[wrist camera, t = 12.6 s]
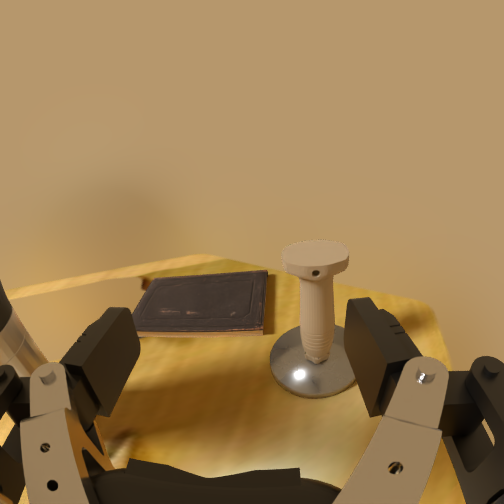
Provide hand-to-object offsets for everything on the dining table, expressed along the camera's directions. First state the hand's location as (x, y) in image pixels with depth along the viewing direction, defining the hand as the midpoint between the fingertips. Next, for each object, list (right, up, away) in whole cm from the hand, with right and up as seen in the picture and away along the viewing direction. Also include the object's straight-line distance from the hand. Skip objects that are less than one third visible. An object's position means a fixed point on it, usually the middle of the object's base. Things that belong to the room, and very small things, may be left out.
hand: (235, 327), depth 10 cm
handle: (+9, -10, +24) cm, 28 cm away
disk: (+9, -11, +25) cm, 28 cm away
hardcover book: (-8, -7, +39) cm, 40 cm away
